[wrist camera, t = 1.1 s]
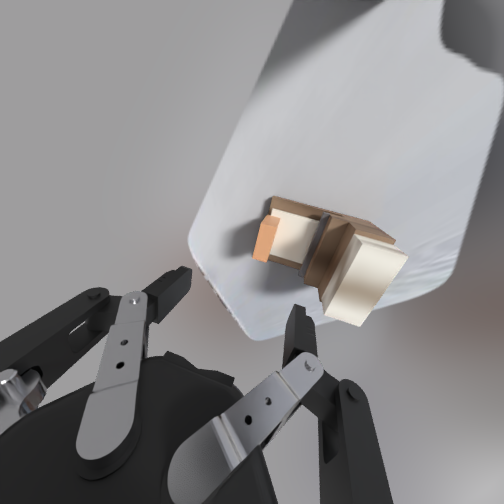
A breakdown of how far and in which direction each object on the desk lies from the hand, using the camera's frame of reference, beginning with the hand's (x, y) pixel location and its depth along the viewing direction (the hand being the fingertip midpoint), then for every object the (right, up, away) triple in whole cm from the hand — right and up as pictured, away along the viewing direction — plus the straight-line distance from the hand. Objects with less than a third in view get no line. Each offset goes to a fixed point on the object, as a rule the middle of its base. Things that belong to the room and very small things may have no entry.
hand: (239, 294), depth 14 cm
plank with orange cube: (+7, +5, +14) cm, 17 cm away
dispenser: (+11, +5, +15) cm, 19 cm away
